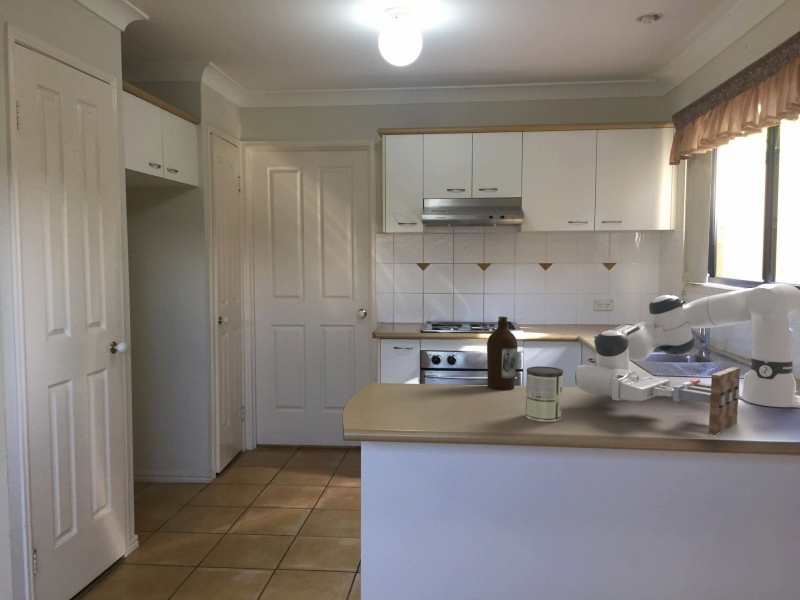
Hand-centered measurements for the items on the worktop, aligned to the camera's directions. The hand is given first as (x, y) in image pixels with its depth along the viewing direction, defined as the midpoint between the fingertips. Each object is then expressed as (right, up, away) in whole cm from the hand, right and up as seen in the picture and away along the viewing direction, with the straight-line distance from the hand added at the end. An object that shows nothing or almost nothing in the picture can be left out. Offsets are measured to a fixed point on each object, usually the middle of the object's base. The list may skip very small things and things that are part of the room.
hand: (673, 392), depth 178 cm
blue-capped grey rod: (+5, -2, -4) cm, 7 cm away
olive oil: (-42, -5, +45) cm, 61 cm away
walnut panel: (+13, -9, -3) cm, 16 cm away
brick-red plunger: (+13, -2, +4) cm, 14 cm away
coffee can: (-36, -8, +5) cm, 37 cm away
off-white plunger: (+9, -2, 0) cm, 10 cm away
